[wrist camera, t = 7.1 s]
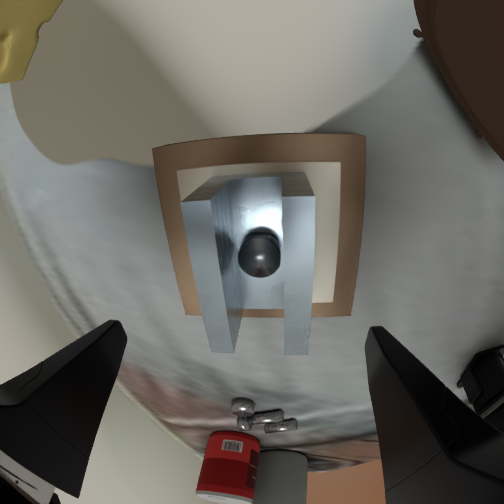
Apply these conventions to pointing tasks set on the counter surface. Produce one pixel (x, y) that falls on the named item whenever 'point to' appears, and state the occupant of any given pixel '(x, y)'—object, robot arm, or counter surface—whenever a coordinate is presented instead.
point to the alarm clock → (469, 58)
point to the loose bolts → (259, 417)
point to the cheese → (21, 34)
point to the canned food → (229, 468)
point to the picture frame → (273, 161)
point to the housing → (252, 253)
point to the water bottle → (281, 478)
